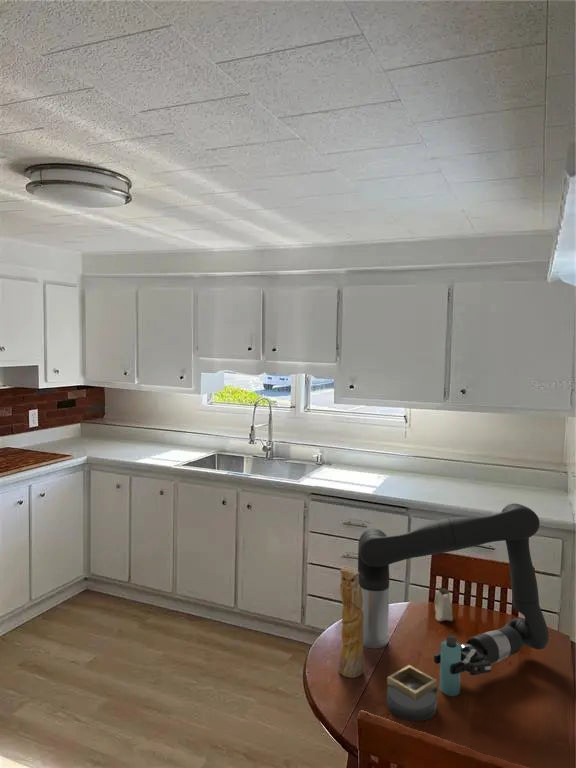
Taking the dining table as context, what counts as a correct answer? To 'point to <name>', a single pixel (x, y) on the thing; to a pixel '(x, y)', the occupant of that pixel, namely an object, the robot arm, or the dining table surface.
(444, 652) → the bottle
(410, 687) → the disc with square collar
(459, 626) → the dining table surface
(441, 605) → the grey sack
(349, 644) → the sculpture
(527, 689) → the dining table surface
